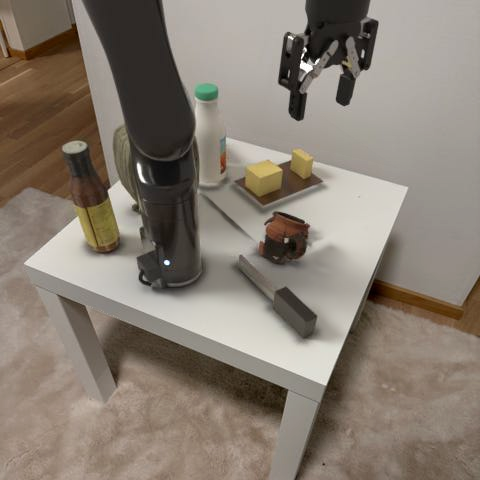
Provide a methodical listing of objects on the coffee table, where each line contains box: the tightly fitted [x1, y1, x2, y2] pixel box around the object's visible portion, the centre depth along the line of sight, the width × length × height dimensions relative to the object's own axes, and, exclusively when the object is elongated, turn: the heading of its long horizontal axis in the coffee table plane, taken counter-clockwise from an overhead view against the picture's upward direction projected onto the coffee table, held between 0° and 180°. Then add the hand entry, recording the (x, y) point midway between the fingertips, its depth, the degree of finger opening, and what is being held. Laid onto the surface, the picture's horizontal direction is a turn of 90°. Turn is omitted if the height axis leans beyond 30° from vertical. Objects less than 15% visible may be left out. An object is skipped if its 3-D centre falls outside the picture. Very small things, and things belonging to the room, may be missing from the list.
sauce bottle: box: [61, 140, 121, 253], centre depth 78 cm, size 7×6×20 cm
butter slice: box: [290, 148, 315, 179], centre depth 99 cm, size 2×5×4 cm, turn 35°
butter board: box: [233, 159, 325, 207], centre depth 99 cm, size 17×11×2 cm, turn 125°
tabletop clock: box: [112, 122, 200, 212], centre depth 83 cm, size 14×9×25 cm, turn 123°
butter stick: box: [245, 159, 283, 197], centre depth 95 cm, size 6×5×4 cm
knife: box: [238, 254, 319, 339], centre depth 75 cm, size 2×20×4 cm, turn 35°
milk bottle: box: [194, 82, 227, 184], centre depth 93 cm, size 8×8×20 cm
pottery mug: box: [258, 211, 311, 264], centre depth 83 cm, size 12×10×8 cm
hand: (319, 111), depth 62 cm, fingers open, 8 cm apart
